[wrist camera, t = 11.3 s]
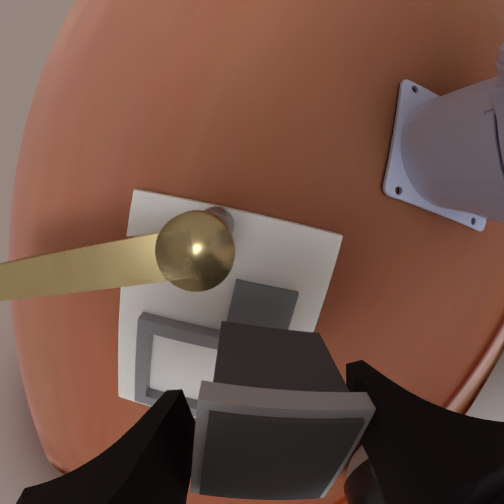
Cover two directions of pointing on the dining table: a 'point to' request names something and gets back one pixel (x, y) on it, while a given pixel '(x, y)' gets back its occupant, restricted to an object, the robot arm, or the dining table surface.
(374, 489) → the black rounded cone
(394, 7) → the dining table surface
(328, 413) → the plug
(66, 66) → the dining table surface
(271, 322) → the pad
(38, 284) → the lever handle
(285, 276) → the lever mounting base
